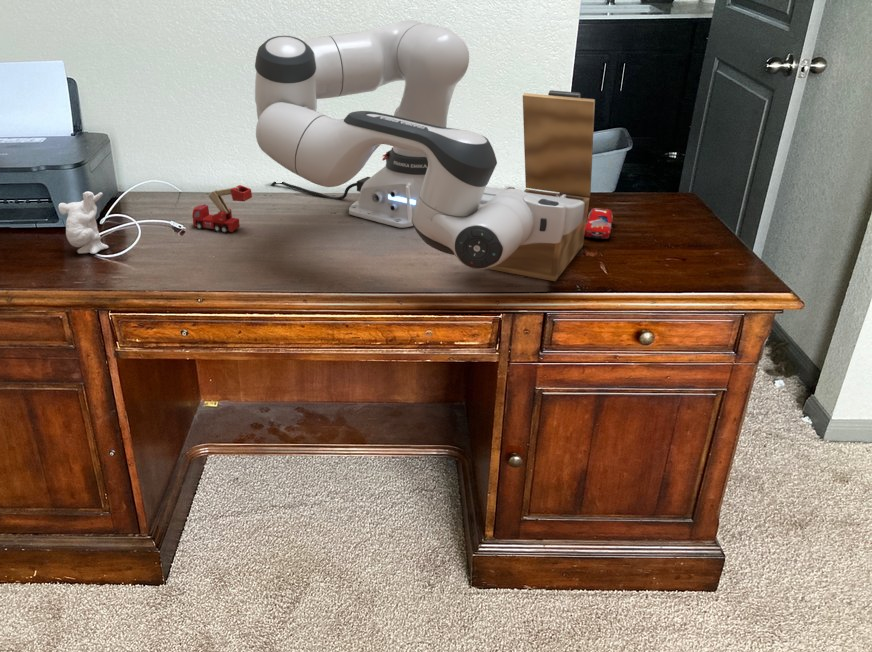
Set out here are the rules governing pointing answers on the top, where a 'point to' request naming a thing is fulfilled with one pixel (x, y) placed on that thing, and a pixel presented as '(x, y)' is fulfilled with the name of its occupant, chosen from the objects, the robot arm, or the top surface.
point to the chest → (546, 251)
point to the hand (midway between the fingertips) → (535, 194)
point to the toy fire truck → (223, 217)
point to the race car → (599, 223)
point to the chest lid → (558, 142)
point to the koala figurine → (83, 223)
